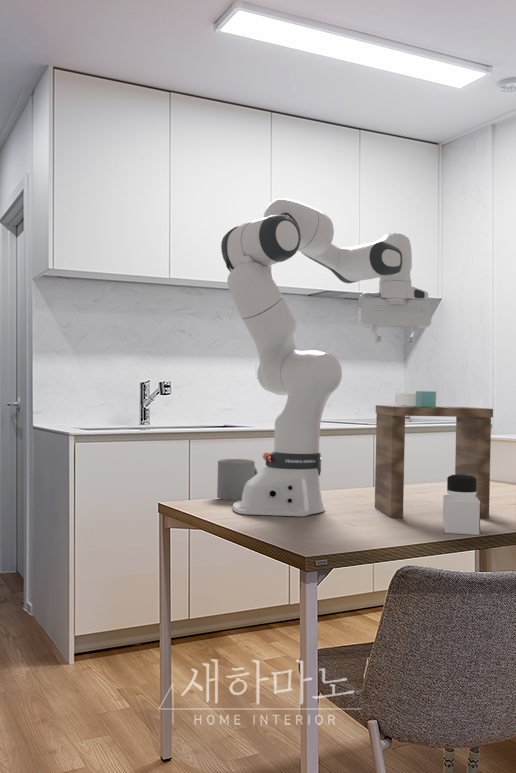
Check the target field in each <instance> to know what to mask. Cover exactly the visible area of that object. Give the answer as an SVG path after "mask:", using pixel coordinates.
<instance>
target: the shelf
mask: <svg viewBox="0 0 516 773" xmlns="http://www.w3.org/2000/svg"><path fill="white" fill-rule="evenodd" d="M375 414H376V418H375V419H376V421H375V422H376V425H375V426H376V427H375V428H376V430H375V431H376V432H375V470H374V471H375V476H374V477H375V478H374V479H375V480H374V508H375V509H377V510H378V511H379V512H380V513H382V514H384V515H386V517H388V518H391V519H404V496H405V495H404V494H405V492H404V490H405V489H404V488H405V486H404V485H405V445H406V444H405V440H406V439H405V437H406V417H407V416H408V417H446V418H447V417H452V418H453V417H454V418H456V419H455V458H454V459H455V465H454V466H455V468H454V475H470V476H473V477H475V478H476V479H477V488H476V495H475V496H476V497H477V498H478V499H479V501H480V503H481V506H480V519H490V498H491V497H490V489H491V488H490V487H491V486H490V485H491V447H492V446H491V445H492V444H491V442H492V441H491V438H492V437H491V436H492V432H491V431H492V418H494V408H488V407H485V408H484V407H471V406H441V405H440V406H438V405H436V407H422V406H410V405H389V404H388V405H382V404H381V405H379V404H377V405H375Z"/></svg>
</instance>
